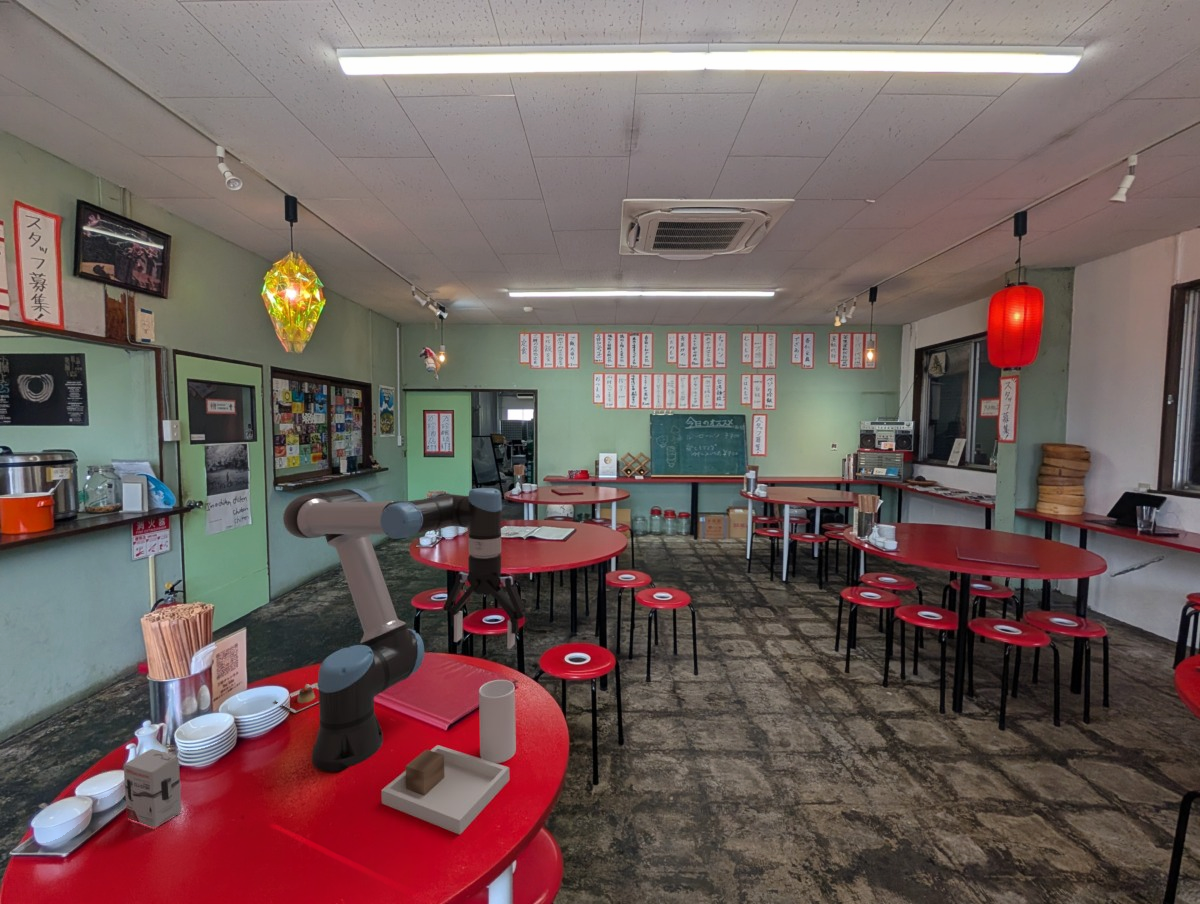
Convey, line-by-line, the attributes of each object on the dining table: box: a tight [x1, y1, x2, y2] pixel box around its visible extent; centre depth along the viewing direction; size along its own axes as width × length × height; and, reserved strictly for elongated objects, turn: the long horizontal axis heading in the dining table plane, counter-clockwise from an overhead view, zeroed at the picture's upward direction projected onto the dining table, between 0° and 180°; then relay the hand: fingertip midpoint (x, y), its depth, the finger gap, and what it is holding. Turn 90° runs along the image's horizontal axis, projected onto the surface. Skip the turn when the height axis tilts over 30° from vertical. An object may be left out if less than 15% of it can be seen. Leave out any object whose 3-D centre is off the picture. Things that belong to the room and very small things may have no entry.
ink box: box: [123, 748, 182, 828], centre depth 99 cm, size 8×5×12 cm, turn 72°
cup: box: [478, 679, 517, 764], centre depth 116 cm, size 8×8×16 cm
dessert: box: [289, 682, 319, 714], centre depth 143 cm, size 12×12×5 cm
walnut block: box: [405, 749, 444, 796], centre depth 106 cm, size 5×6×5 cm
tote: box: [381, 744, 510, 835], centre depth 104 cm, size 20×16×4 cm
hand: (484, 643), depth 117 cm, fingers open, 13 cm apart
